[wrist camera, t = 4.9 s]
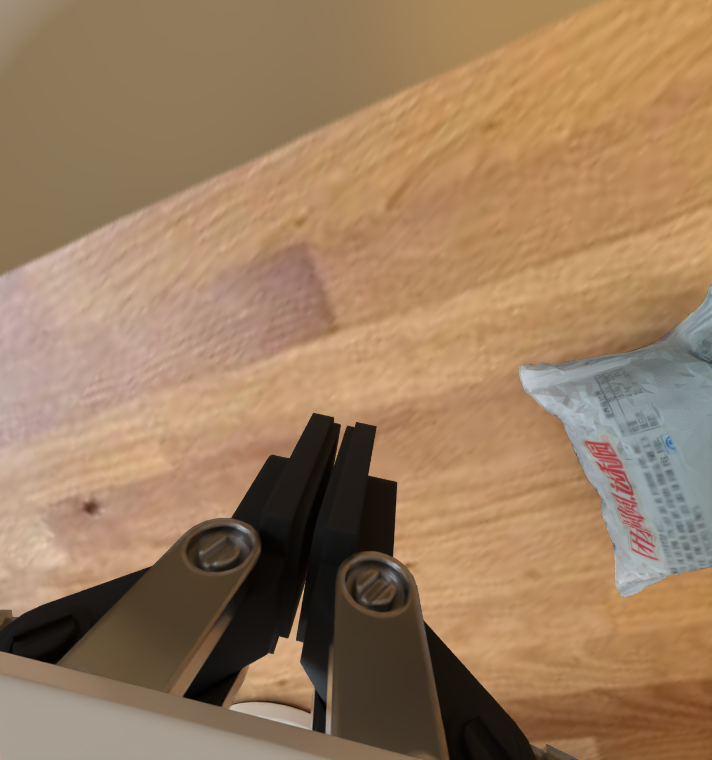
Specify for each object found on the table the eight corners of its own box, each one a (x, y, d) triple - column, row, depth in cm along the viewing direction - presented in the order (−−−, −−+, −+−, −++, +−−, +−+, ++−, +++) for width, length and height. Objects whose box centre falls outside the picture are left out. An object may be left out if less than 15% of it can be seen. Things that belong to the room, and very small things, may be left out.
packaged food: (595, 552, 21) (648, 640, 17) (506, 356, 19) (540, 396, 14) (784, 493, 19) (905, 575, 15) (717, 260, 16) (840, 270, 12)
